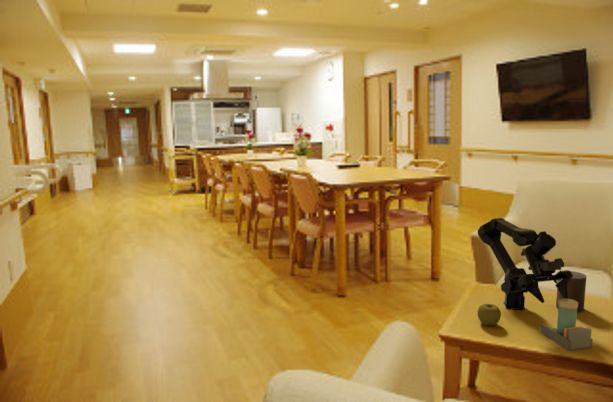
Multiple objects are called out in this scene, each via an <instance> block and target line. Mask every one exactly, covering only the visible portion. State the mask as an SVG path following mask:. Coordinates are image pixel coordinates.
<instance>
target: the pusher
mask: <svg viewBox="0 0 613 402" xmlns="http://www.w3.org/2000/svg"><path fill="white" fill-rule="evenodd" d="M579 328H585V327H584V326H582V325H581V326H580V325H579V326H576V327H571V328H564V337H565V338H566V339H569V330H571V329H579Z"/></svg>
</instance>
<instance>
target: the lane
mask: <svg viewBox="0 0 613 402" xmlns="http://www.w3.org/2000/svg"><path fill="white" fill-rule="evenodd" d="M539 330H540V333H541V334H543V335H544V336H545V337H547V338H549V339H551V340H552V341H554V342H555V343H557V345H558V344H559V346H561V347H562V348H564V349H565V350H567V351H569V352H570V351H577V350H584V349H585V350H586V349H592V348H593V341H594V339H593V338H592V328H590V327H587V326H586V327H584V328H579V329H571V330H569V339H566V338H565V337H563V336H562V335H560V334H559V333H557V328H551V327H549V326H547V325H546V324H544V323H540V329H539Z"/></svg>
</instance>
